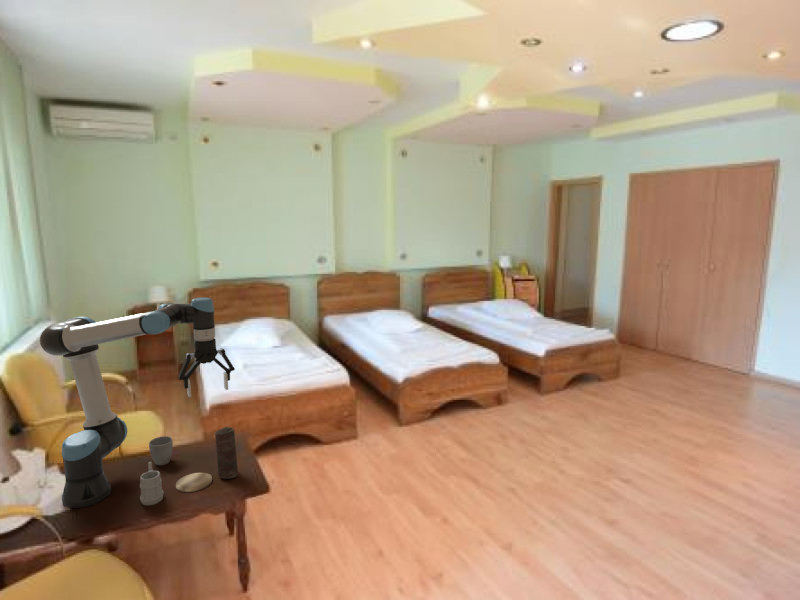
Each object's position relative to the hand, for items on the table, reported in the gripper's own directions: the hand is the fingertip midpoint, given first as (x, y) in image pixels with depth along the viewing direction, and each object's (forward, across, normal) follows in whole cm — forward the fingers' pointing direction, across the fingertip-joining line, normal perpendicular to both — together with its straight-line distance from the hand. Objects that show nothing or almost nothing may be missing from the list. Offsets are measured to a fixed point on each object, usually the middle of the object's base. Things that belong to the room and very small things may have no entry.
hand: (208, 392), depth 184 cm
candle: (+36, +5, -3) cm, 36 cm away
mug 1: (+36, -14, +26) cm, 46 cm away
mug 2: (+36, -22, -1) cm, 42 cm away
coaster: (+35, -7, 0) cm, 36 cm away
